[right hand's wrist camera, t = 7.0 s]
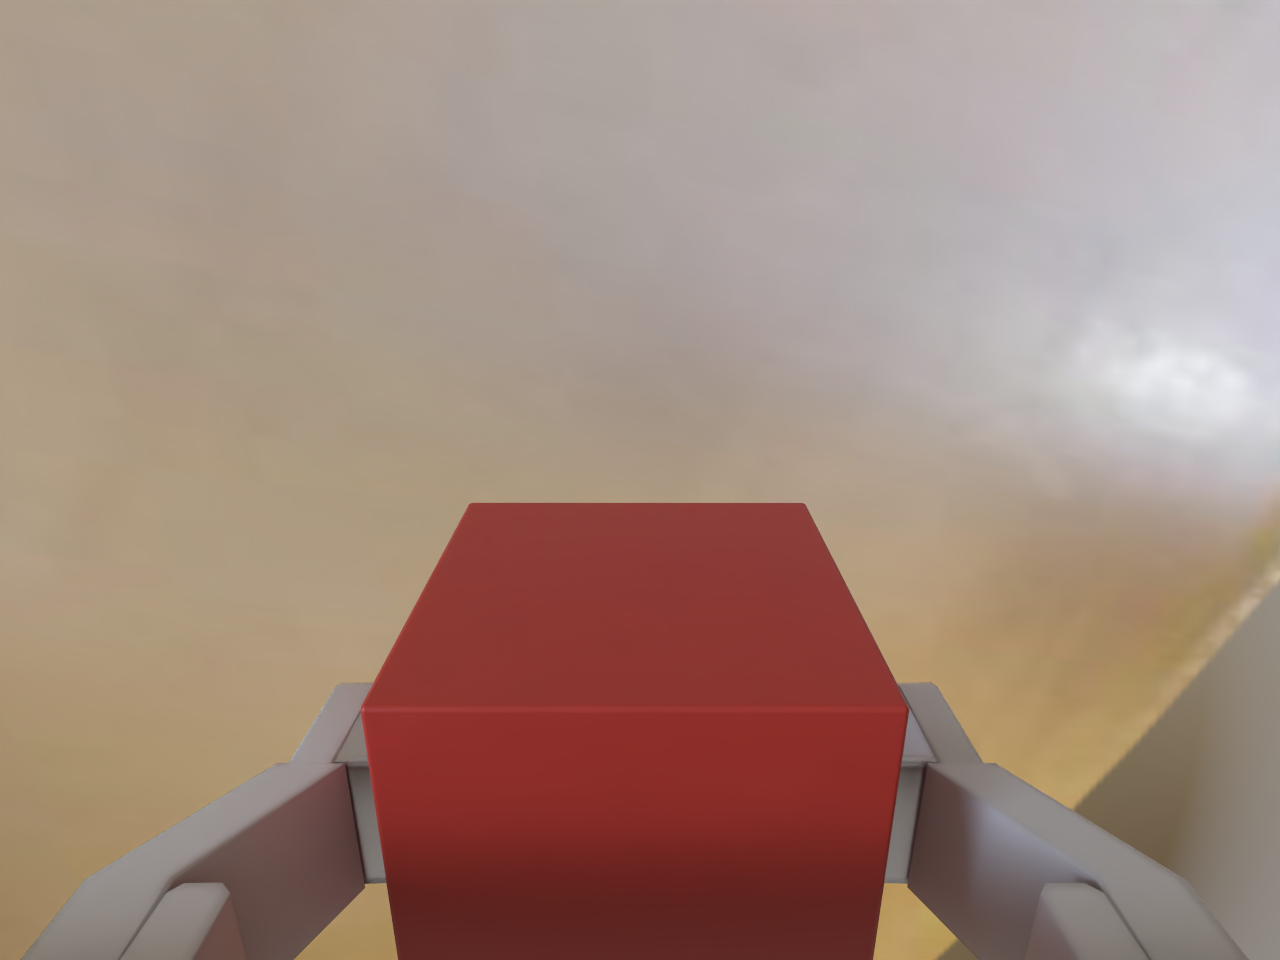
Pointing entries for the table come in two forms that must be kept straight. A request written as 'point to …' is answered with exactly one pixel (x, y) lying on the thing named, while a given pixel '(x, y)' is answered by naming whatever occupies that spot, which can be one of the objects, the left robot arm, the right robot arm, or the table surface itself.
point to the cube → (635, 741)
